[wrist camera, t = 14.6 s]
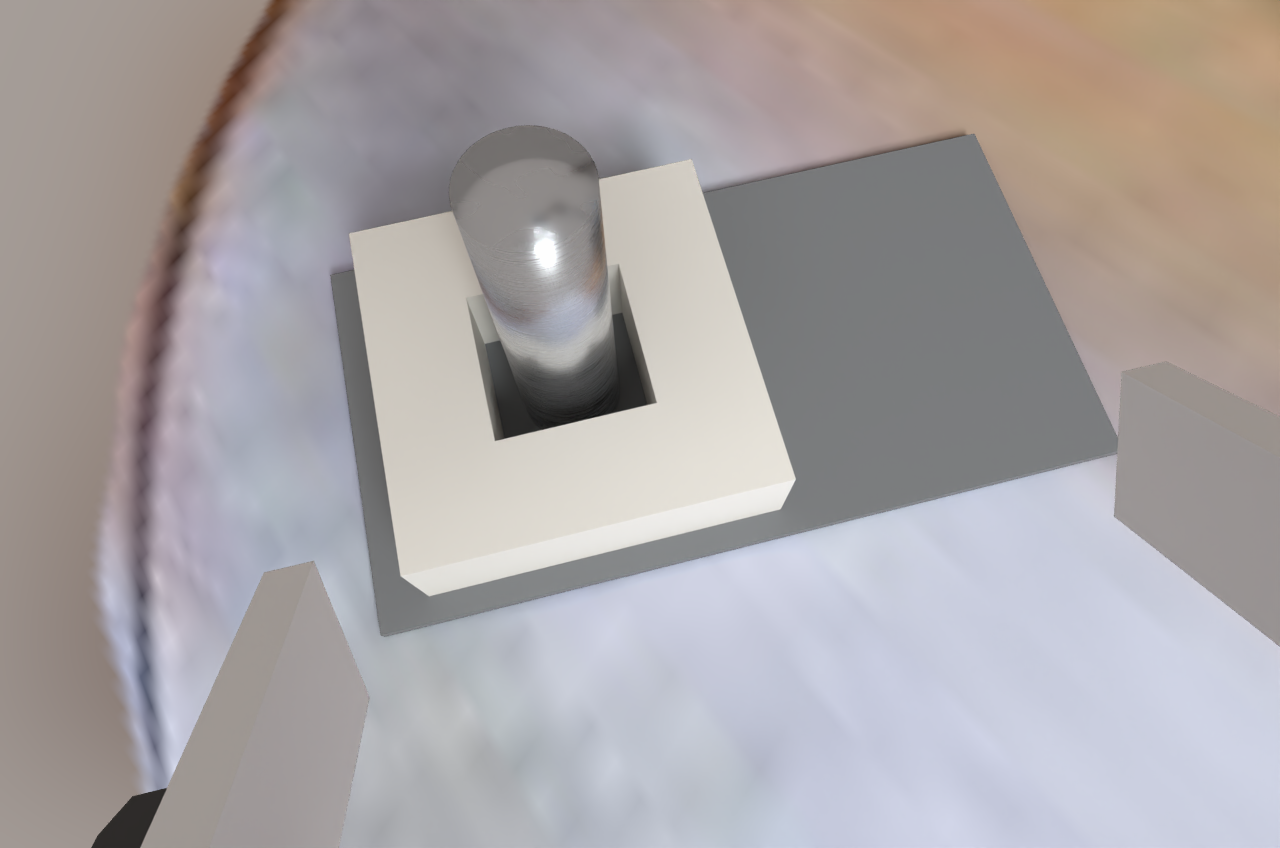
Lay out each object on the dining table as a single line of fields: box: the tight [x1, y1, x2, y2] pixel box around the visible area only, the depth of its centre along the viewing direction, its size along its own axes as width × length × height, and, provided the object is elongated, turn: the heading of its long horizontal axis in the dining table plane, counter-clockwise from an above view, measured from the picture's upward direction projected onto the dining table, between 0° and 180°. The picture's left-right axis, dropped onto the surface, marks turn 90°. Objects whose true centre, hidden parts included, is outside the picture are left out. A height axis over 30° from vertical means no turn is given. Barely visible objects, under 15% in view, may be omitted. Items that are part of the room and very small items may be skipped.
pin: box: [449, 125, 619, 430], centre depth 30 cm, size 4×4×14 cm
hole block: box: [349, 159, 796, 596], centre depth 35 cm, size 14×14×4 cm
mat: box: [331, 134, 1118, 637], centre depth 37 cm, size 30×16×1 cm, turn 104°
